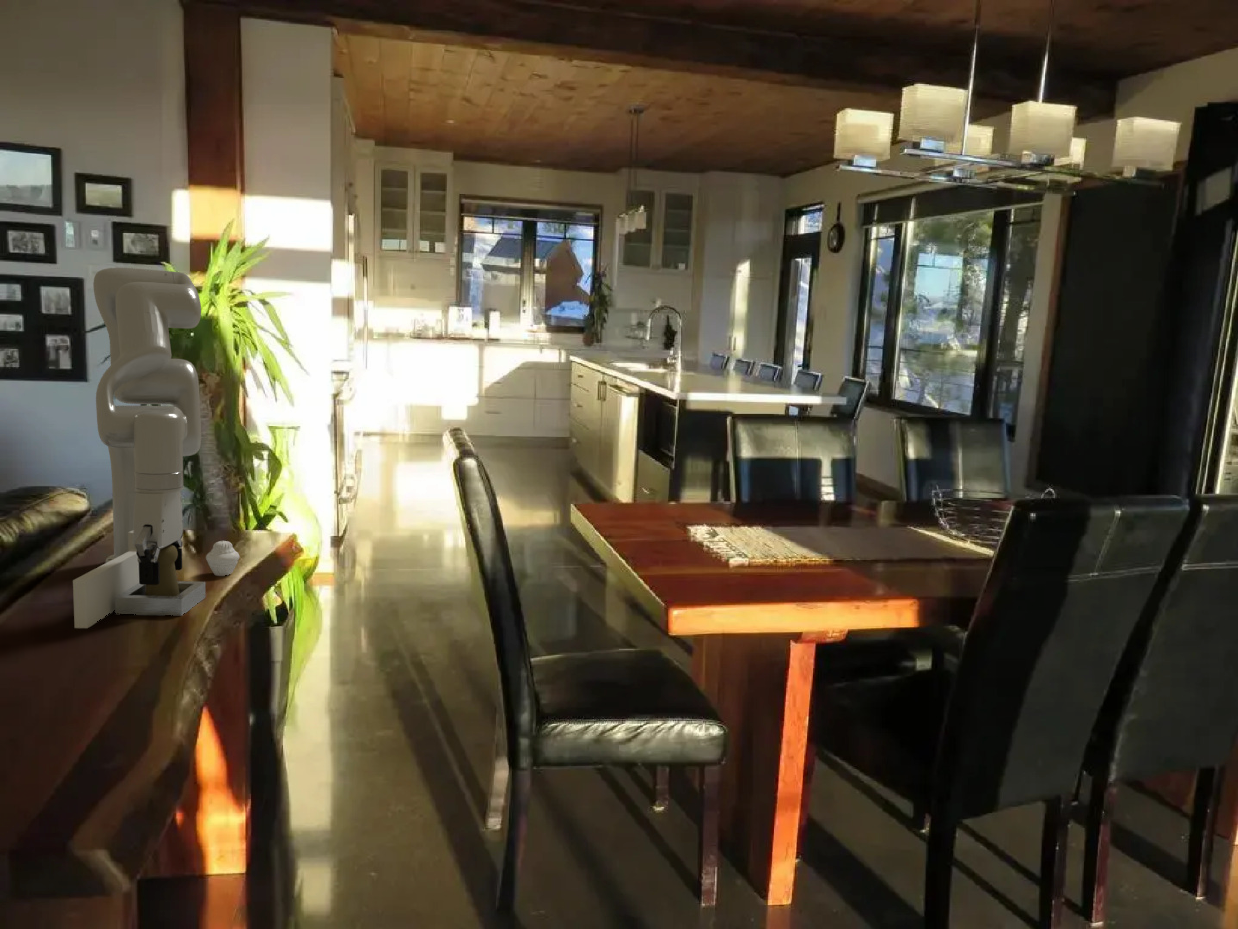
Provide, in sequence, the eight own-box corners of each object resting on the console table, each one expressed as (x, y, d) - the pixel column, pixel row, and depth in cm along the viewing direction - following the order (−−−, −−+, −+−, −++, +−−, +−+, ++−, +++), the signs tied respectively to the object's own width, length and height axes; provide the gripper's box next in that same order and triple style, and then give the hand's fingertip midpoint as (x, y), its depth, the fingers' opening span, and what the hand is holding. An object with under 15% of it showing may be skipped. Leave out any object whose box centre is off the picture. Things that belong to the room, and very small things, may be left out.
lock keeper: (143, 596, 166) (143, 580, 166) (205, 597, 167) (205, 581, 167) (115, 614, 155) (114, 597, 155) (181, 615, 156) (181, 599, 156)
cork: (165, 611, 158) (163, 550, 156) (135, 607, 159) (133, 546, 158) (188, 602, 164) (187, 542, 162) (159, 598, 165) (158, 539, 164)
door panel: (136, 585, 172) (135, 529, 171) (158, 586, 172) (157, 529, 171) (68, 627, 147) (65, 562, 146) (93, 628, 148) (91, 562, 146)
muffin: (241, 569, 187) (241, 536, 186) (237, 577, 181) (237, 543, 180) (208, 570, 185) (208, 537, 184) (203, 578, 179) (203, 544, 178)
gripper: (158, 473, 166) (160, 564, 169) (113, 489, 149) (116, 589, 151) (200, 474, 167) (201, 565, 169) (160, 490, 150) (163, 591, 152)
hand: (161, 576), depth 160 cm, fingers open, 9 cm apart
